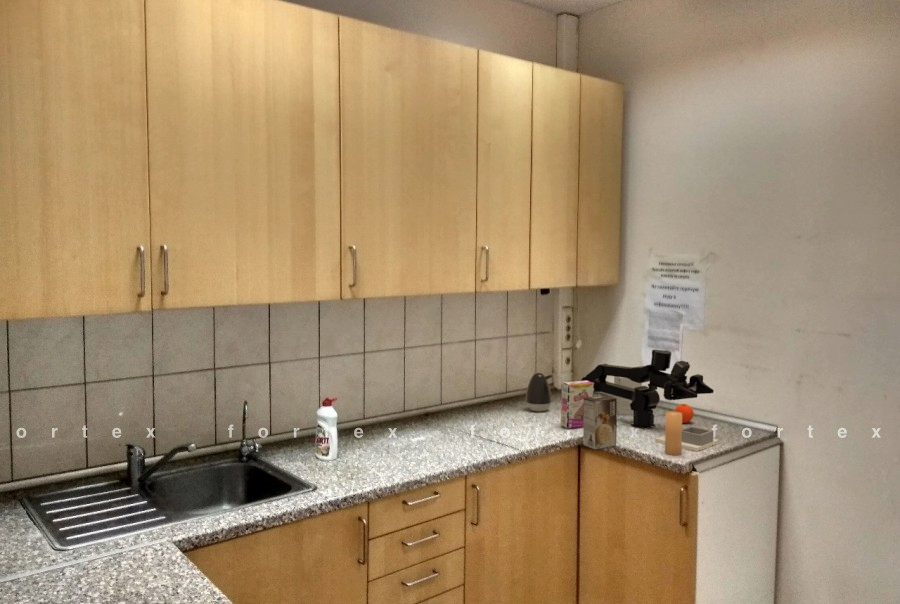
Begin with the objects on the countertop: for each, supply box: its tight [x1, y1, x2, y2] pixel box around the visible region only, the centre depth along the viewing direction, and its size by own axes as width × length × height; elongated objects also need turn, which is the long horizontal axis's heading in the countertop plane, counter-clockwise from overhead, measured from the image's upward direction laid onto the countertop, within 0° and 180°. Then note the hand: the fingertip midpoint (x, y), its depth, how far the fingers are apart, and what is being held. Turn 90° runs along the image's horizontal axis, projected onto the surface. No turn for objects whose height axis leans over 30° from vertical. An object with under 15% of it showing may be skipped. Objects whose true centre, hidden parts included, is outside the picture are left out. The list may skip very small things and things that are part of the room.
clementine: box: [674, 403, 695, 424], centre depth 267 cm, size 8×7×7 cm
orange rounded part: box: [664, 410, 683, 457], centre depth 228 cm, size 5×5×13 cm
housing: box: [655, 425, 720, 452], centre depth 240 cm, size 15×14×5 cm
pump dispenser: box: [525, 372, 553, 413], centre depth 286 cm, size 10×10×15 cm
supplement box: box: [613, 376, 643, 416], centre depth 282 cm, size 9×9×15 cm
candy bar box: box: [560, 380, 595, 430], centre depth 261 cm, size 11×5×16 cm, turn 113°
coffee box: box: [582, 394, 618, 450], centre depth 236 cm, size 9×6×16 cm
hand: (705, 393), depth 241 cm, fingers open, 9 cm apart
